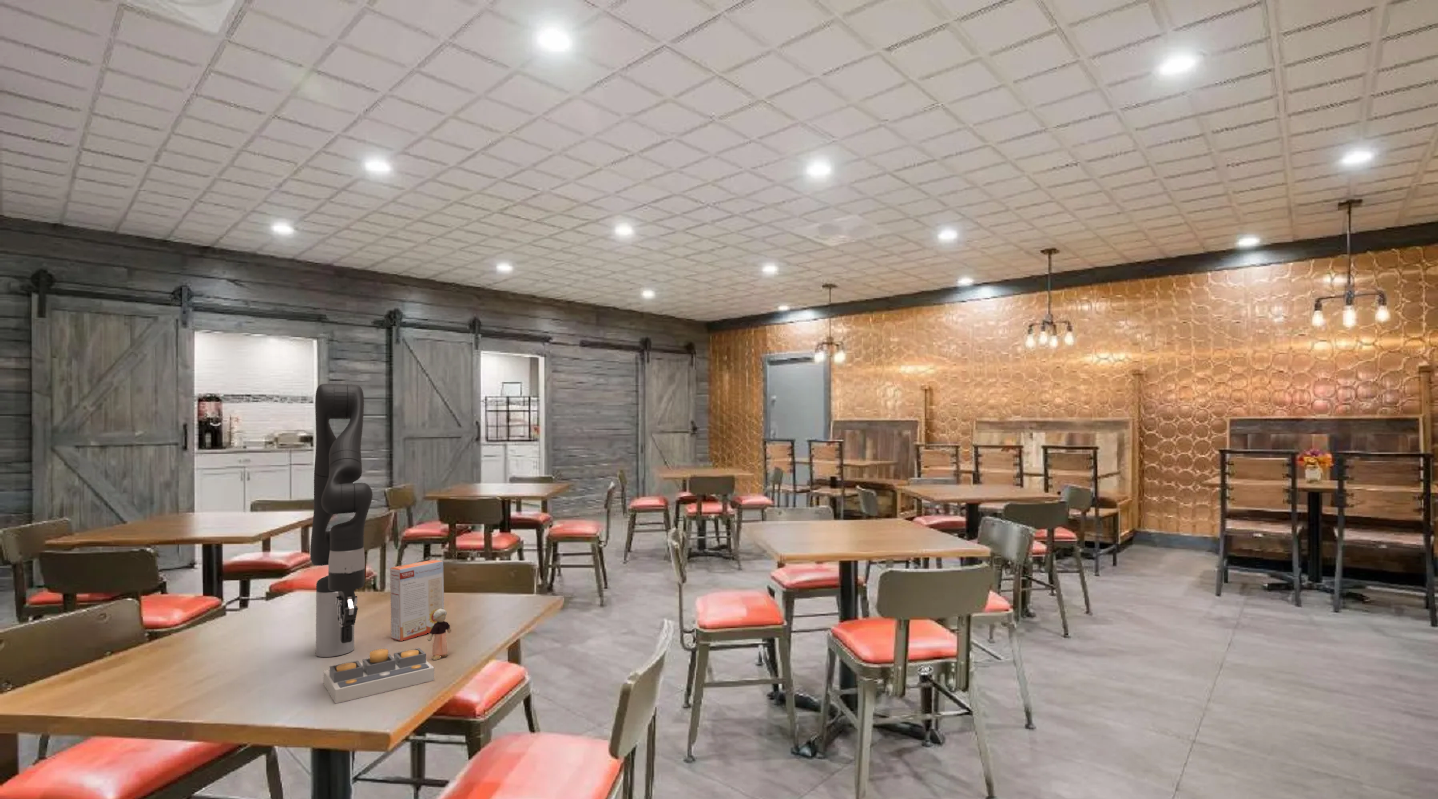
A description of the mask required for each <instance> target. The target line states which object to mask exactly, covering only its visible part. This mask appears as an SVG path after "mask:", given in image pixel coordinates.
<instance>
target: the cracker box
mask: <svg viewBox="0 0 1438 799" xmlns="http://www.w3.org/2000/svg"><path fill="white" fill-rule="evenodd" d="M389 568H390V569H389V570H390V571H389V572H390V575H389V576H390V581H389V582H390V584H389V585H390V639H393V640H396V641H398V642H403V640H404V641H406V640H411V639H414V638H417V636H418V637H421V636H424V635H427V633H428V634H429V633H430V631H431V629H432V627H433V626H434V624H435V623H437V621H436V619H435V618H434V613H435V611H437V610H438V609H444V610H445V591H444V590H445V588H444V586H445V584H444V578H445V577H444V561H443V560H439V559H430V560H425V561H424V560H423V561H420V562H419V561H418V562H413V563H409V564H403V565H398V566H393V567H389Z"/></svg>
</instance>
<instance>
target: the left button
mask: <svg viewBox="0 0 1438 799" xmlns="http://www.w3.org/2000/svg"><path fill="white" fill-rule="evenodd" d="M340 664H341V665H339V664H338V665H339V666H337V672H339V671H344V670H348V669H353V668H356V663H349V662H345V664H344V663H340Z"/></svg>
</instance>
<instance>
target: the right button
mask: <svg viewBox="0 0 1438 799" xmlns="http://www.w3.org/2000/svg"><path fill="white" fill-rule="evenodd" d="M407 650H408V651H407ZM407 650H403V651H404V652H402V651H401V652H402V653H401V658H405V657H409V656H414V655H419V651H418V650H412V649H407Z"/></svg>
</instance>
